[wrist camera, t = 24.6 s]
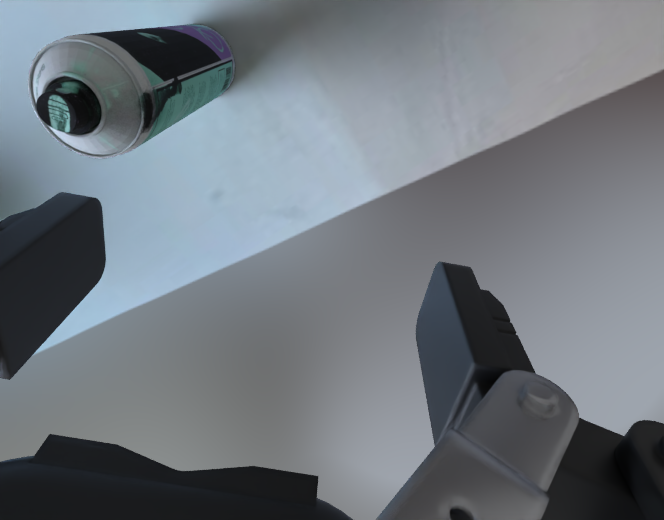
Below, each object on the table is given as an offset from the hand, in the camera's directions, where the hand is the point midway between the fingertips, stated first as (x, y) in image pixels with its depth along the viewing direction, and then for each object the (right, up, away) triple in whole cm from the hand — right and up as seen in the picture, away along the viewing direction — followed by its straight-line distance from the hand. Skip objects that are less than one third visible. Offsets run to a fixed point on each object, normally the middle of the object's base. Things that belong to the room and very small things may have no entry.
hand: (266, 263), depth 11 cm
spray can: (-9, +16, +26) cm, 31 cm away
